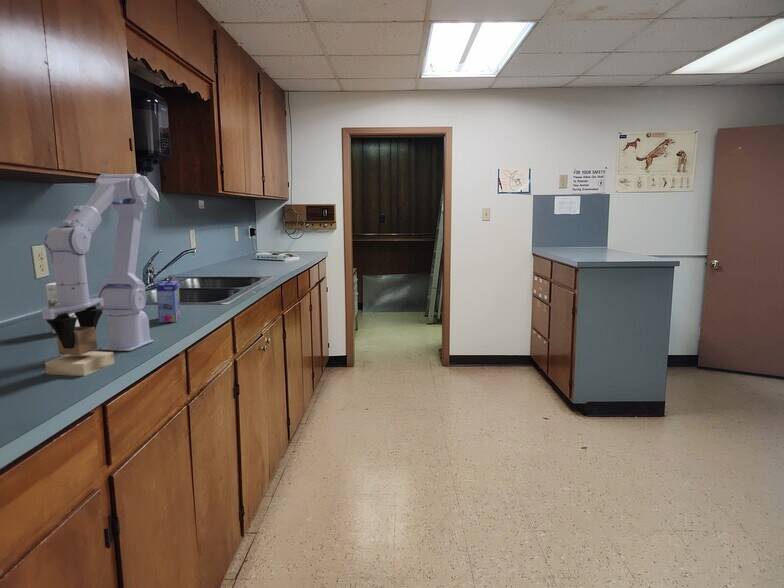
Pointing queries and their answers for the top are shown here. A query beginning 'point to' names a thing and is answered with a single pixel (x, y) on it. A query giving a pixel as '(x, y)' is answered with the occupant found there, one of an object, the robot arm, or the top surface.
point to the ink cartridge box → (168, 301)
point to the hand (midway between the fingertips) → (79, 344)
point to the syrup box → (55, 301)
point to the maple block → (79, 363)
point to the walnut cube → (80, 341)
